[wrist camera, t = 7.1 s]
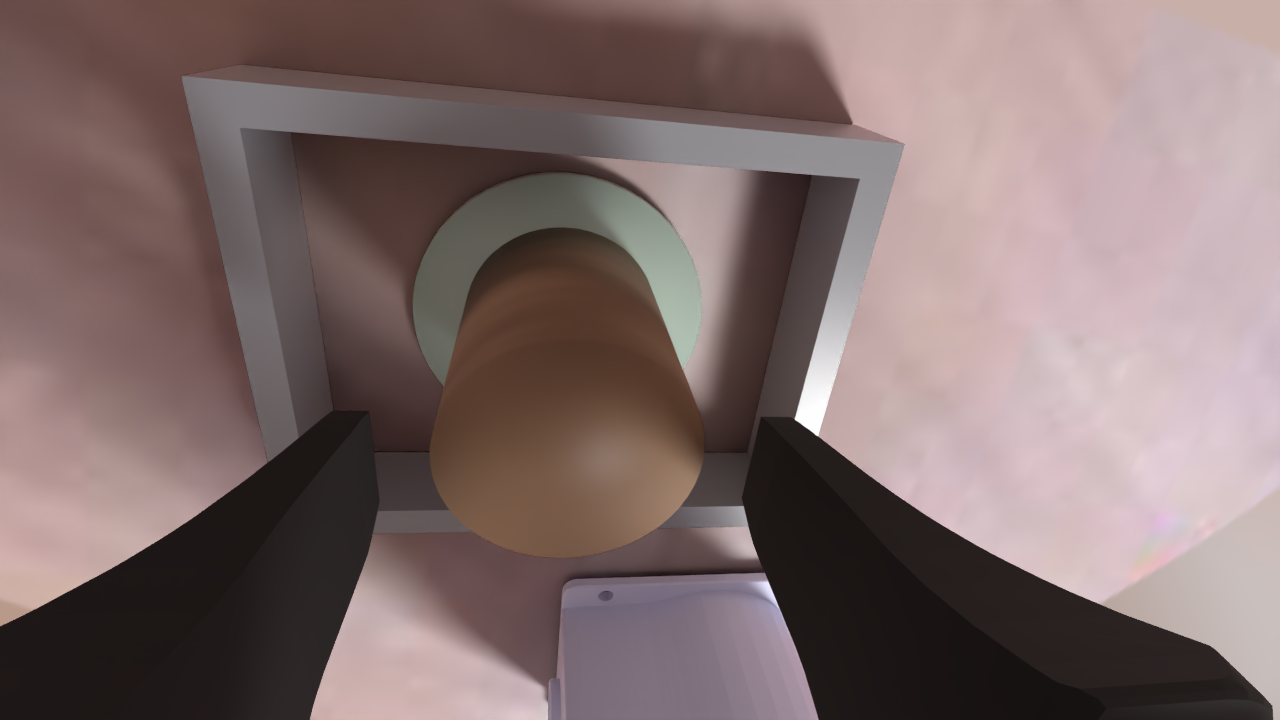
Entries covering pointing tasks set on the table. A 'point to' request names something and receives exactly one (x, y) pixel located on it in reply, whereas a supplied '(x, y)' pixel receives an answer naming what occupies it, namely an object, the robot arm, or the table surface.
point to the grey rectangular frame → (476, 117)
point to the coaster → (542, 207)
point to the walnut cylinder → (564, 402)
